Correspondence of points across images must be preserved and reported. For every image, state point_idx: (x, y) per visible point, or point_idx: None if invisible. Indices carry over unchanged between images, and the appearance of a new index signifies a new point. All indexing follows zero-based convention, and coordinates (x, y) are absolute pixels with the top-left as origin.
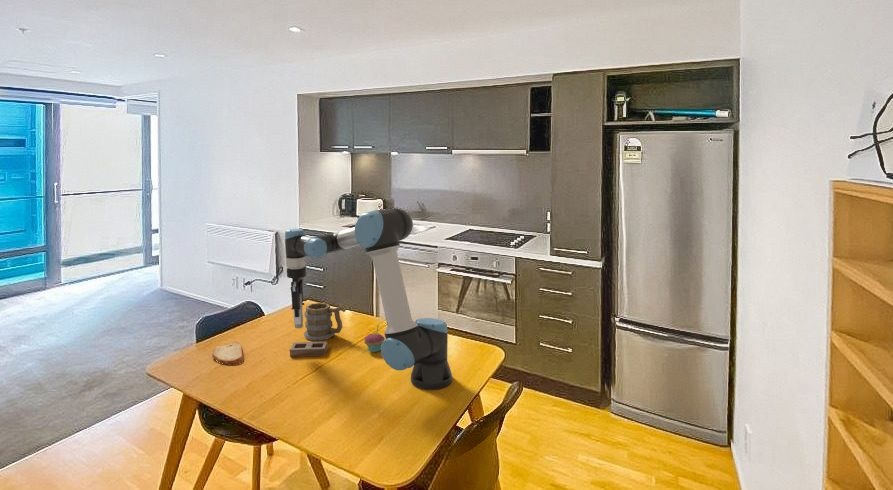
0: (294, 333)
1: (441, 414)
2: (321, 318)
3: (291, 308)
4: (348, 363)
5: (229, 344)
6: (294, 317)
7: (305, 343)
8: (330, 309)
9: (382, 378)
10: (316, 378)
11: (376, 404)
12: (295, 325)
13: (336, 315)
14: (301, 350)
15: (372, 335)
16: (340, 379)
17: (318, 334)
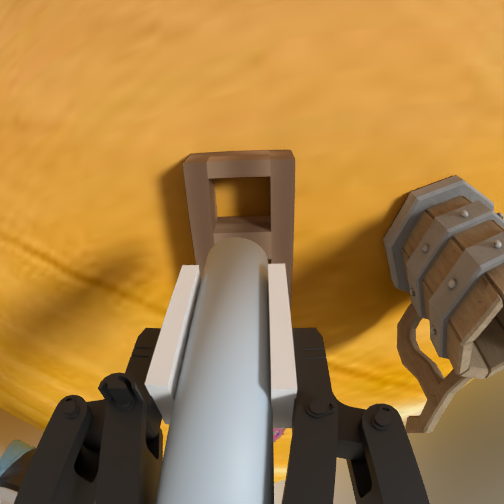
0: (488, 129)
1: (34, 422)
2: (432, 325)
3: (100, 386)
4: None
5: None
6: (169, 312)
7: (274, 224)
8: (457, 380)
9: (93, 399)
10: (41, 287)
11: (13, 376)
12: (210, 258)
13: (426, 378)
14: (190, 219)
15: None
16: (58, 338)
17: (404, 256)
